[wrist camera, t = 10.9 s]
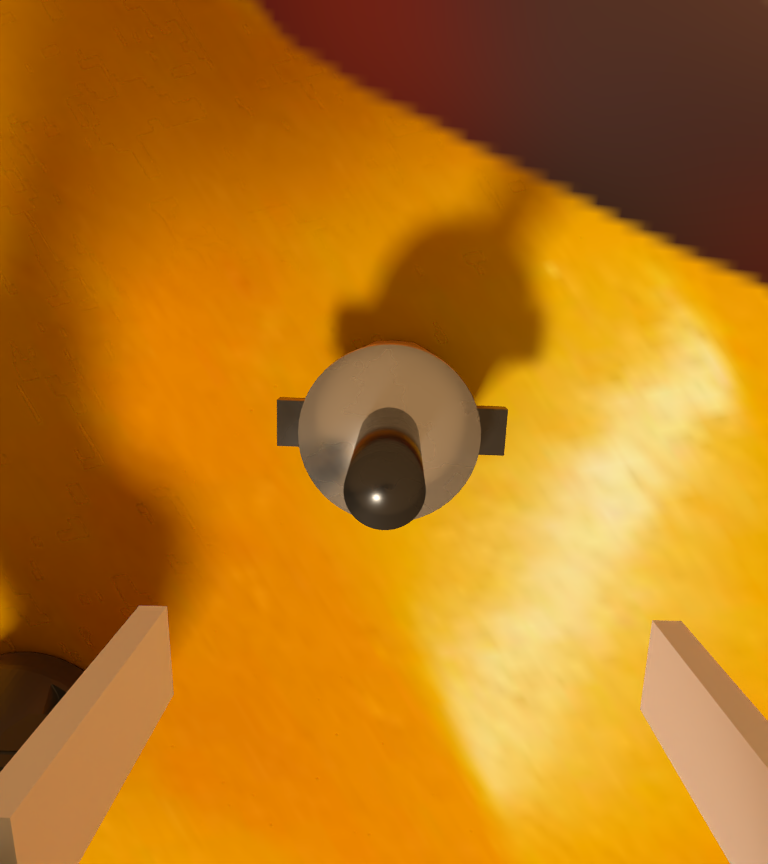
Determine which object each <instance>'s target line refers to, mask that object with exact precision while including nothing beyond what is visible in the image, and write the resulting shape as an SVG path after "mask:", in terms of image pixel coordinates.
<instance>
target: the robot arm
mask: <svg viewBox="0 0 768 864" xmlns="http://www.w3.org/2000/svg"><path fill="white" fill-rule="evenodd" d="M173 694H174V693H173V679H172V666H171V652H170V639H169V625H168V612H167V606H141V605H139V606H138V608H137V609H136V610H135V611H134V612H133V614H132V615H131V616H130V617H129V618H128V620H127V621H126V622H125V623H124V624H123V626H122V627H121V628H120V629H119V630H118V632H117V633H116V634H115V635H114V636H113V638H112V639H111V640H110V641H109V642H108V644H107V645H106V646H105V647H104V648H103V650H102V651H101V652H100V653H99V654H98V656H97V657H96V658H95V659H94V660H93V662H92V663H91V664H90V665H89V666H88V668H87V669H86V670H85V671H83V670H81V669H80V668H78V667H76V666H75V665H73V664H71V663H69V662H67V661H64V660H62V659H59V658H56V657H53V656H50V655H45V654H40V653H33V652H14V653H7V654H2V655H0V864H78V863H79V862H80V860H81V858H82V856H83V854H84V853H85V851H86V849H87V847H88V846H89V844H90V842H91V840H92V838H93V837H94V835H95V833H96V831H97V830H98V828H99V826H100V824H101V822H102V821H103V819H104V817H105V815H106V814H107V812H108V810H109V808H110V806H111V805H112V803H113V801H114V799H115V798H116V796H117V794H118V792H119V790H120V789H121V787H122V785H123V783H124V782H125V780H126V778H127V776H128V774H129V773H130V771H131V769H132V767H133V766H134V764H135V762H136V760H137V758H138V757H139V755H140V753H141V751H142V750H143V748H144V746H145V744H146V742H147V741H148V739H149V737H150V735H151V734H152V732H153V730H154V728H155V726H156V725H157V723H158V721H159V719H160V718H161V716H162V714H163V712H164V710H165V709H166V707H167V705H168V703H169V702H170V700H171V698H172V696H173ZM640 710H641V711H642V713H643V715H644V716H645V718H646V720H647V722H648V723H649V725H650V727H651V728H652V730H653V732H654V734H655V735H656V737H657V739H658V741H659V742H660V744H661V746H662V747H663V749H664V751H665V753H666V754H667V756H668V758H669V759H670V761H671V763H672V765H673V766H674V768H675V770H676V771H677V773H678V775H679V777H680V778H681V780H682V782H683V783H684V785H685V787H686V789H687V790H688V792H689V794H690V795H691V797H692V799H693V801H694V802H695V804H696V806H697V807H698V809H699V811H700V813H701V814H702V816H703V818H704V819H705V821H706V823H707V825H708V826H709V828H710V830H711V831H712V833H713V835H714V837H715V838H716V840H717V842H718V843H719V845H720V847H721V849H722V850H723V852H724V854H725V856H726V857H727V859H728V861H729V862H730V864H768V721H767V720H766V719H765V718H764V716H763V715H762V714H761V713H760V712H759V711H758V709H757V708H756V707H755V706H754V705H753V704H752V702H751V701H750V700H749V699H748V698H747V697H746V696H745V694H744V693H743V692H742V691H741V690H740V689H739V687H738V686H737V685H736V684H735V683H734V682H733V681H732V679H731V678H730V677H729V676H728V675H727V674H726V672H725V671H724V670H723V669H722V668H721V667H720V665H719V664H718V663H717V662H716V661H715V660H714V659H713V657H712V656H711V655H710V654H709V653H708V652H707V650H706V649H705V648H704V647H703V646H702V645H701V643H700V642H699V641H698V640H697V639H696V638H695V637H694V635H693V634H692V633H691V632H690V631H689V630H688V628H687V627H686V626H685V625H684V624H683V623H682V622H681V621H657V620H652V627H651V634H650V642H649V649H648V656H647V664H646V671H645V678H644V686H643V693H642V700H641V707H640Z"/></svg>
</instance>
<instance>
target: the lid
mask: <svg viewBox="0 0 768 864" xmlns="http://www.w3.org/2000/svg"><path fill="white" fill-rule="evenodd" d="M298 440H299V448H300V453H301V457H302V460H303V463H304V466H305V468H306V470H307V472H308V474H309V476H310V478H311V479H312V481H313V482H314V484H315V485H316V487H317V488H318V489H319V490H320V491H321V492H322V494H323V495H324V496H325V497H327V498H328V499H329V500H330V501H331V502H332V503H334V504H335V505H336V506H338V507H339V508H341V509H342V510H344V511H346V512H348V513H350V514H352V515H353V516H354V517H355V518H356V519H357V520H358V521H359V522H361V523H362V524H364V525H366V526H368V527H371V528H374V529H379V530H391V529H396V528H399V527H402V526H404V525H406V524H408V523H409V522H410V521H412V520H413V519H416V518H420V517H422V516H425V515H427V514H430V513H432V512H434V511H435V510H437V509H439V508H441V507H442V506H443V505H445V504H446V503H447V502H449V501H450V500H451V499H452V498H453V497H454V496H455V495H456V494H457V493H458V492H459V491H460V490H461V488H462V487H463V486H464V485H465V483H466V482H467V480H468V478H469V477H470V475H471V473H472V471H473V469H474V466H475V464H476V461H477V458H478V454H479V449H480V442H481V426H480V418H479V414H478V410H477V407H476V404H475V402H474V399H473V397H472V395H471V393H470V391H469V389H468V388H467V386H466V384H465V383H464V382H463V380H462V379H461V378H460V376H459V375H458V374H457V373H456V372H455V371H454V370H453V369H452V368H451V367H450V366H449V365H448V364H447V363H445V362H444V361H443V360H441V359H440V358H439V357H437V356H435V355H433V354H432V353H430V352H428V351H425V350H423V349H420V348H418V347H414V346H410V345H406V344H398V343H380V344H374V345H368V346H365V347H362V348H358V349H356V350H354V351H352V352H349V353H347V354H346V355H344V356H342V357H341V358H339V359H337V360H336V361H335V362H334V363H333V364H331V365H330V366H329V367H328V368H327V369H326V370H325V371H324V372H323V373H322V374H321V375H320V376H319V377H318V378H317V380H316V381H315V383H314V384H313V386H312V387H311V388H310V390H309V392H308V394H307V396H306V398H305V401H304V404H303V406H302V409H301V414H300V418H299V427H298Z"/></svg>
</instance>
